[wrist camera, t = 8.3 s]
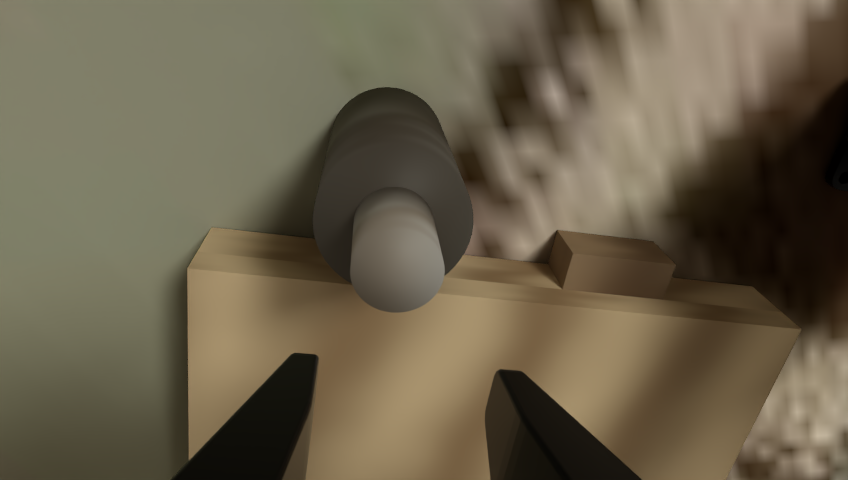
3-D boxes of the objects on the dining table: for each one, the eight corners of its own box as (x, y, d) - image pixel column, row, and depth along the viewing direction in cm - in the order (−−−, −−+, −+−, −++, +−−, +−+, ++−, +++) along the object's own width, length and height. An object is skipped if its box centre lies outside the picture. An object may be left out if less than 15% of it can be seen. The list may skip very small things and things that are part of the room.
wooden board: (766, 254, 24) (819, 295, 21) (627, 564, 32) (652, 624, 29) (212, 189, 21) (186, 225, 18) (207, 549, 29) (190, 614, 26)
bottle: (452, 96, 21) (509, 196, 12) (433, 202, 22) (471, 357, 14) (336, 79, 20) (309, 171, 11) (325, 189, 22) (295, 342, 13)
